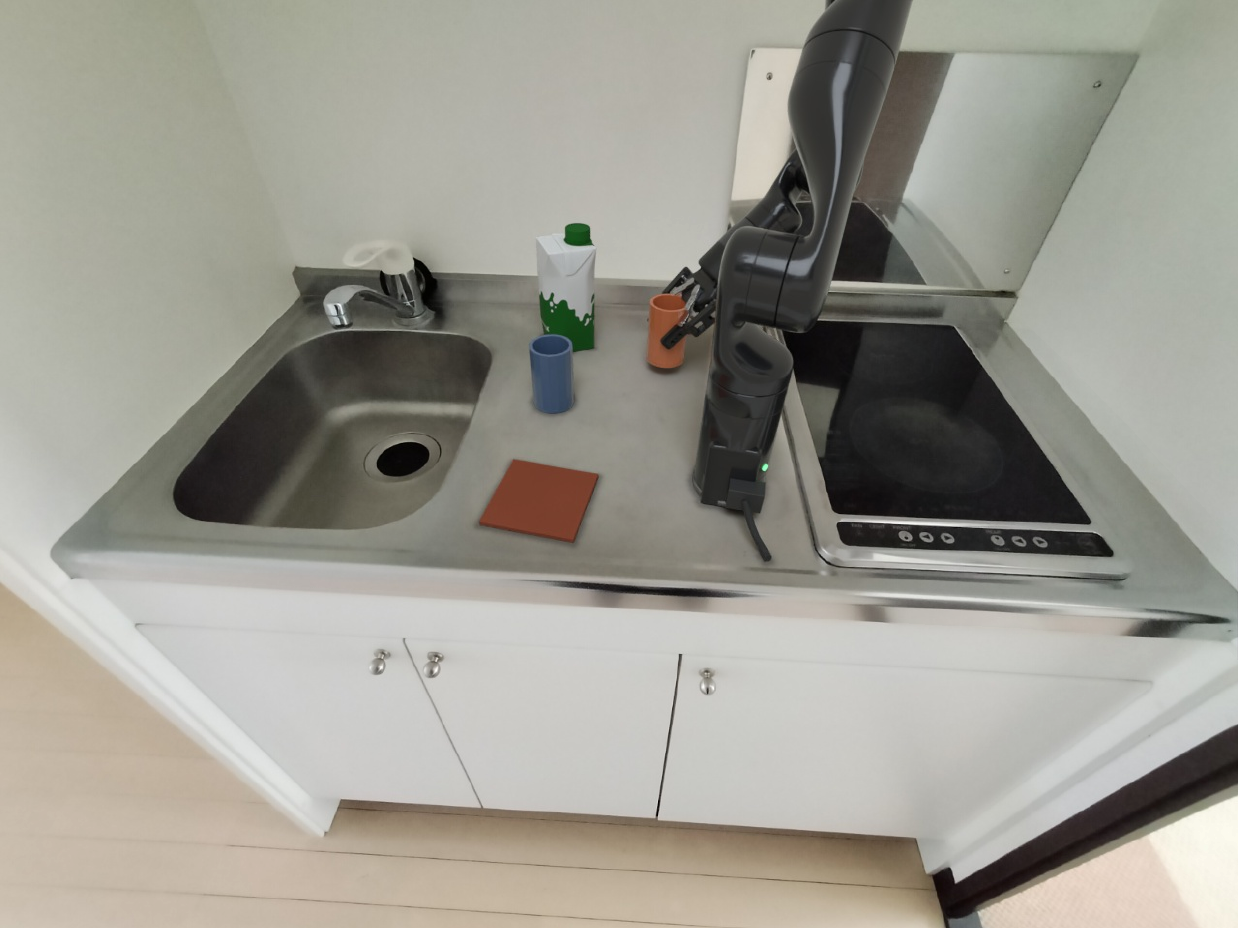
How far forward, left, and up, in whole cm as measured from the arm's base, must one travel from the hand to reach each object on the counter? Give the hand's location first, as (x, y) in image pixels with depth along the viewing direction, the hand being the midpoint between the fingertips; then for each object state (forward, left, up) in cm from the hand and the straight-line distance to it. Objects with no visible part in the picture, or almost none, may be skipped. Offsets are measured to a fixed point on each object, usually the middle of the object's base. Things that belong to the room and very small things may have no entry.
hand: (657, 334), depth 96 cm
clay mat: (-34, +9, -7) cm, 36 cm away
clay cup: (+1, -1, -5) cm, 5 cm away
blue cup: (-13, +14, -7) cm, 20 cm away
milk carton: (+5, +17, -7) cm, 19 cm away
